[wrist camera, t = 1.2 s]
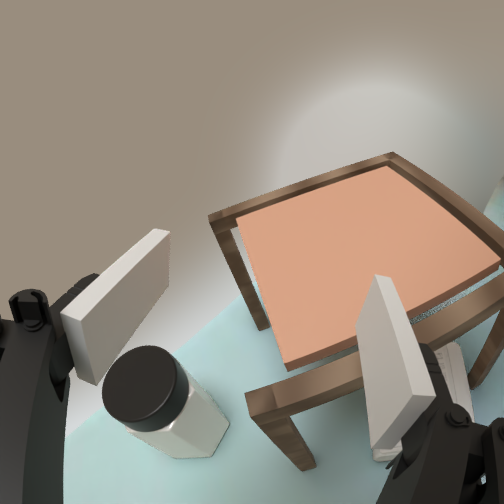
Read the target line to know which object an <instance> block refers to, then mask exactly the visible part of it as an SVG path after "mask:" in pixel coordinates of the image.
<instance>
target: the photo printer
mask: <svg viewBox="0 0 504 504" xmlns="http://www.w3.org/2000/svg"><path fill="white" fill-rule="evenodd" d="M434 353H435V355H436V358H437V360H438V363H439V366H440V368H441V370H442V374H443V376H444V378H445V381H446V384H447V386H448V389H449V392H450V395H451V398H452V401H453V403H456V404H459V405H460V406H462V407H464V408H465V409H466V411H467V412H468V413H469V415H470V417H471V419H472V422H474V423H475V420H474V413H473V407H472V400H471V395H470V389H469V384H468V379H467V374H466V369H465V364H464V360H463V356H462V351H461V348H460V346H459V344H458V343H455V342H450V343H448V344H447V345H445V346H443V347H441V348H440V349H438V350H436V351H434ZM401 451H402V444H401V440H400V441H399V442H398V444H397V445H396V446H395V447H394V448H393V449H392V450H387V449H373V459H374V460H375V461H378V462H381V461H389V460H393V459H394V458H395V457H396V456H397V455H398V454H399V453H400V452H401Z"/></svg>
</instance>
